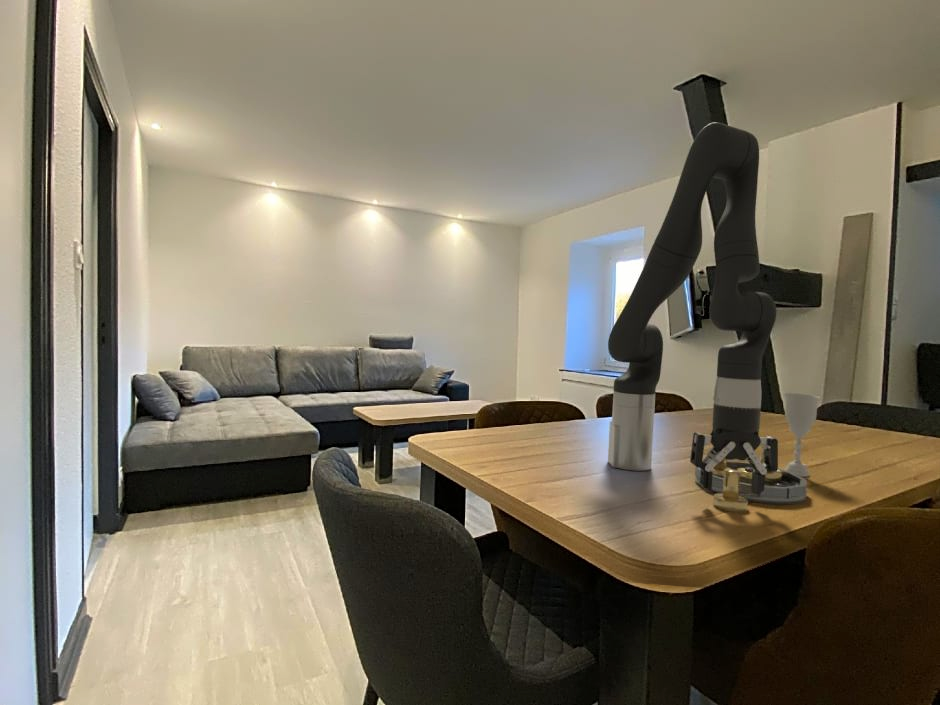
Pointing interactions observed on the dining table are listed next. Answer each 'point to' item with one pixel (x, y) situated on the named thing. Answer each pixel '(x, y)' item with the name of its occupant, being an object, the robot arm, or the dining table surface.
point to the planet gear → (730, 494)
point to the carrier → (777, 484)
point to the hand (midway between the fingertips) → (731, 492)
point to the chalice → (800, 425)
